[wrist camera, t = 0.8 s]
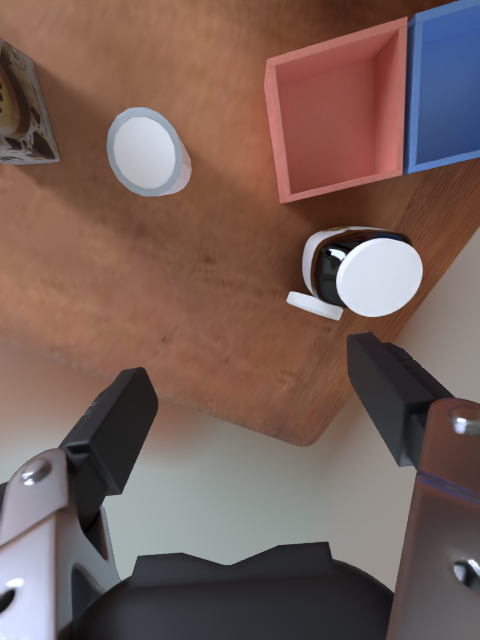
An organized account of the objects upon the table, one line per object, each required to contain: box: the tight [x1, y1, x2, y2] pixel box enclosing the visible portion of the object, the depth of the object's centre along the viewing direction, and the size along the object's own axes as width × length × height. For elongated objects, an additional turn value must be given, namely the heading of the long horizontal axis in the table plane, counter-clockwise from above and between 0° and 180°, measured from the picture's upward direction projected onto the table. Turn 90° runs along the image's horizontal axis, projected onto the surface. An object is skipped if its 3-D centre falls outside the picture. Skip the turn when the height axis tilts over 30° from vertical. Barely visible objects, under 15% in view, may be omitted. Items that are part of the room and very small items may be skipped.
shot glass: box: [106, 107, 192, 197], centre depth 26 cm, size 7×7×7 cm
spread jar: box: [286, 226, 423, 320], centre depth 28 cm, size 12×11×12 cm
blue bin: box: [402, 0, 480, 175], centre depth 24 cm, size 11×11×5 cm
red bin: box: [264, 16, 407, 203], centre depth 25 cm, size 11×11×5 cm
